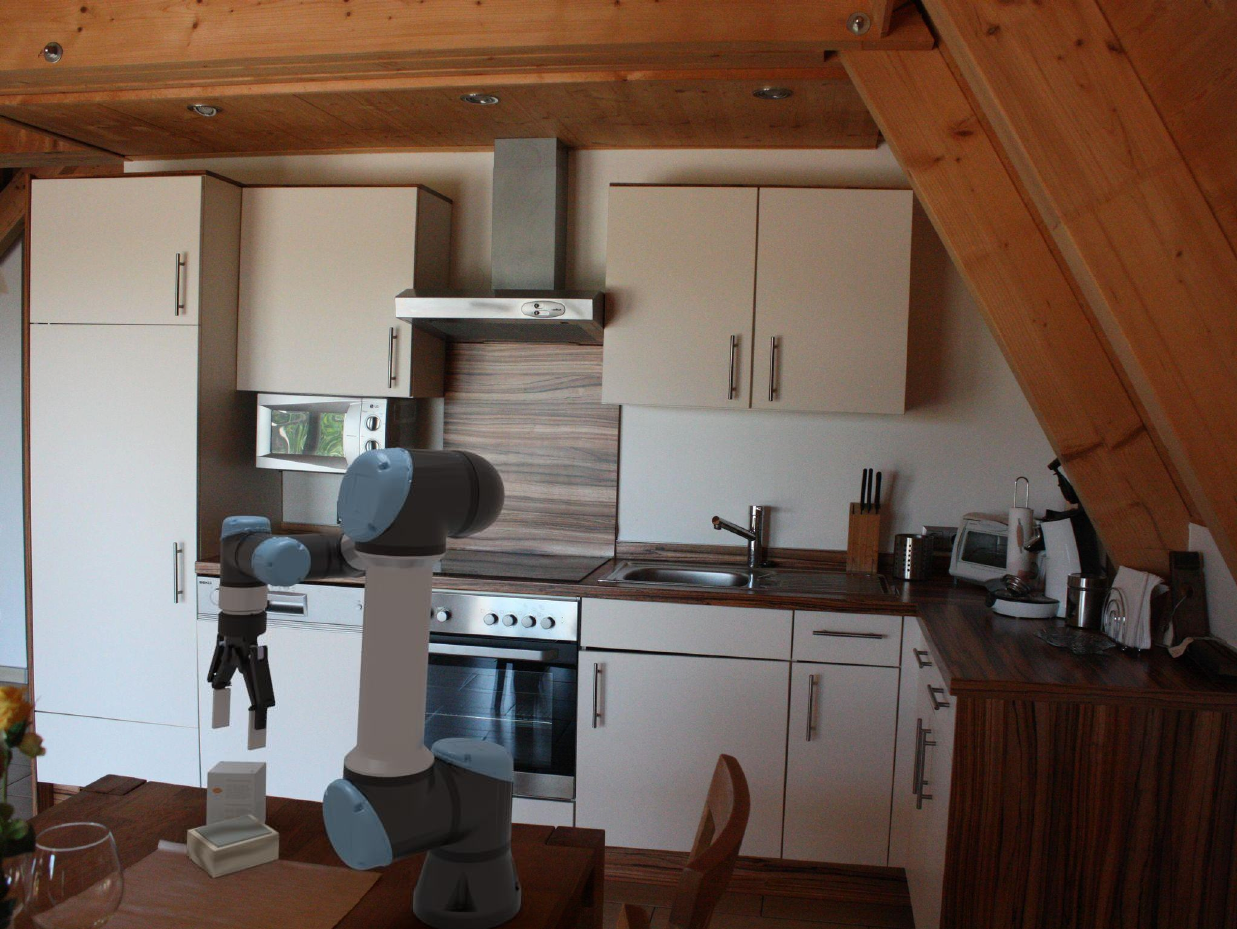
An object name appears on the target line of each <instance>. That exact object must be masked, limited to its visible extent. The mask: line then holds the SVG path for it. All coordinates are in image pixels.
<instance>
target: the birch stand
mask: <svg viewBox="0 0 1237 929" xmlns="http://www.w3.org/2000/svg"><path fill="white" fill-rule="evenodd" d="M186 832H187V833H186V857H188V856H189V857H188V858H189V859H190V860H191V859H192V860H191V861H192V862H194V864H196V865H197V866H198V867H200V869H202V870H203V871H205V872H206V873H207V874H208V875H209V876H211V877H212V879H214V878H218V877H221V876H226V875H229V874H233V873H236V872H239V871H243V870H246V869H249V868H252V867H256V866H259V865H262V864H268V863H269V862H273V861H276V860H279V847H280V832H278V831H276V830H275V829H273V828H272V827H271V826H269V825H268V824H266V823H263V822H261V821H260V820H258V819H257V818H255V817H254V816H252V815H251V814H249V815H245V816H241V817H237V818H233V819H229V820H225V821H221V822H217V823H213V824H209V825H202V826H198V827H194V828H191V829H187V831H186Z"/></svg>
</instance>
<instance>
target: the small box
mask: <svg viewBox="0 0 1237 929" xmlns="http://www.w3.org/2000/svg"><path fill="white" fill-rule="evenodd" d="M206 778H207V780H206V822H205V824H206V825H209V824H213V823H217V822H221V821H225V820H229V819H233V818H237V817H241V816H245V815H249V814H251V815H252V816H254V817H255V818H257V819H258V820H260V821H261V822H263V823H264V824H266V814H267V813H266V810H267V808H266V807H267V806H266V804H267V801H266V800H267V762H266V761H232V760H231V761H230V760H229V761H227V760H226V761H225V760H223V761H219V762H218V763H217V764H216V765H215V766H213V767H212V768H211V769H210V770H209V771H207V777H206ZM206 825H205V826H206Z"/></svg>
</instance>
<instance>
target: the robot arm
mask: <svg viewBox="0 0 1237 929" xmlns="http://www.w3.org/2000/svg"><path fill="white" fill-rule="evenodd" d="M505 494H506V493H505V486H504V482H503V479H502V477H501V475H500V473H499V472H498V470H497V468H496V467H495V466H494V465H493V464H492V463H491V462H490V461H489V460H487V459H486V458H484V457H483V456H481V455H479V454H477V453H474V452H471V451H467V450H459V449H458V450H457V449H454V450H453V449H451V450H449V449H447V450H445V449H426V448H425V449H423V448H422V449H421V448H419V449H418V448H402V447H389V448H375V449H369V450H367V451H363V452H362V453H361V454H358V456H357V457H356V458H355V459H353V461H352V463H351V464H350V465H349V466H348V467H347V469H346V471H345V473H344V475H343V477H342V479H341V483H340V486H339V491H338V494H337V495H338V496H337V517H338V518H339V520H340V522H339V526H340V528H341V530H342V531H340V532H334V533H333V532H330V533H307V534H306V533H305V534H282V535H281V534H272V530H271V528H272V526H271V522H270V520H269V519H268V518H267V517H264V516H259V515H258V516H257V515H256V516H255V515H234V516H233V515H232V516H228V517H227V518H225V519H224V520H223V522H222V526H221V536H220V538H219V542H220V560H219V561H220V562H219V564H220V568H219V584H218V608H219V610H220V612H219V613H218V614H217V615H218V617H217V633H216V634H217V635H216V643H215V646H214V647H215V648H214V650H213V651H214V652H213V655H212V658H211V663H210V666H209V670H208V673H207V677H206V681H207V683H209V684H211V685H210V686H211V689H212V712H211V713H212V714H211V715H212V716H211V729H212V730H215V729H220V728H221V729H222V728H227V727H230V722H231V720H230V718H231V693H232V688H231V687H232V686H233V684H232V681H231V680H232V679H233V676H234V675H235V673H236V671H237V670H238V673H239V674H242V676H243V680H244V683H245V687H246V690H247V691H246V692H247V695H248V698H249V702H250V706H249V707H248V708H247V711H248V724H247V726H248V728H247V749H246V750H247V751H254V750H259V749H263V748H266V747H267V730H268V729H267V728H268V727H267V725H268V724H267V723H268V709H269V708H273V707H275V706H276V698H275V692H274V688H273V680H272V674H271V669H270V664H269V647H268V645H267V644H264V645H259V642H258V638H259V637H260V636H262V635H264V634H265V633H266V632H267V627H268V626H267V625H268V622H267V621H268V612H267V611H266V610H265V609H266V608H267V607H268V595H269V593H270V589H269V585H270V586H272V587H281V588H282V587H283V588H290V587H293V586H296V585H297V584H299V583H301V582H310V581H319V580H320V581H322V580H329V579H330V580H334V579H344V578H345V579H347V578H355V579H358V578H359V579H360V578H363V577H364V591H363V592H364V593H363V594H364V596H363V615H362V633H361V651H360V653H361V655H360V668H359V669H360V672H359V688H358V690H359V694H358V711H357V712H358V713H357V730H356V731H357V732H356V745H355V746H354V747H353V748H352V749H351V750H350V751H349V752H348V753H346V755H345V756H344V758H343V771H342V778H337V779H334V780H333V781H332V782H330V783H329V784H328V786H327V787H326V789H325V790H324V793H323V798H322V817H323V822H324V826H325V830H326V834H327V837H328V839H329V841H330V843H331V845H332V847H333V849H334V851H335V853H336V854H337V855H338V857H339V858H340V860H341V861H343V863H345V865H347V866H348V867H350V868H352V869H354V870H358V871H359V870H360V871H365V870H370V869H374V868H377V867H387V866H389V865H390V864H391V863H394V862H398V861H401V860H403V859H406V858H409V857H412V856H413V857H414V856H416V855H419V854H422V853H426V852H427V853H426V856H425V859H424V861H423V865H422V868H421V871H420V874H419V878H418V881H417V883H416V885H415V887H414V890H413V895H412V896H413V897H412V898H413V900H412V902H413V903H412V905H413V906H412V910H413V913H414V916H416V918H417V919H418V920H419V921H421V922H422V923H424V924H426V925H427V926H430V927H432V928H435V929H492V928H495V927H498V926H501V925H503V924H505V923H507V922H509V921H510V920H512V919H513V918H515V916H517V914H518V912H519V911H520V910H521V907H522V906H521V905H522V904H521V902H522V887H521V884H520V880H519V876H518V872H517V869H516V866H515V863H514V858H513V855H512V851H511V845H512V844H511V843H512V842H511V840H512V824H513V823H512V820H513V819H512V818H513V816H512V815H513V800H514V799H513V798H514V784H515V776H514V758H513V755H512V753H511V752H510V751H509V750H508V748H506V747H504V746H503V745H501V744H498V743H494V742H492V741H487V740H484V739H478V738H470V737H469V738H467V737H447V738H442V739H441V738H440V739H439V740H436V741H435V742H433V744H432V745H431V749H430V750H429V748H428V747H427V746H425V744H424V743H425V741H424V740H425V724H426V723H425V722H426V705H427V685H428V670H429V669H428V668H429V667H428V666H429V651H430V650H429V648H430V633H431V632H430V631H431V613H432V611H431V610H432V596H433V577H434V576H433V574H434V567H435V565H436V564H437V563H438V562H439V561H441V559H442V558H444V556H445V555H446V553H447V552H446V550H447V539H451V540H461V539H465V538H468V537H470V536H473V535H475V534H478V533H481V532H483V531H485V530H486V529H489V528H490V527H492V525H493V524H494V523H495V522H496V521H497V519H498V518H499V517H500V515H501V514H502V511H503V508H504V504H505V497H506V496H505Z"/></svg>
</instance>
